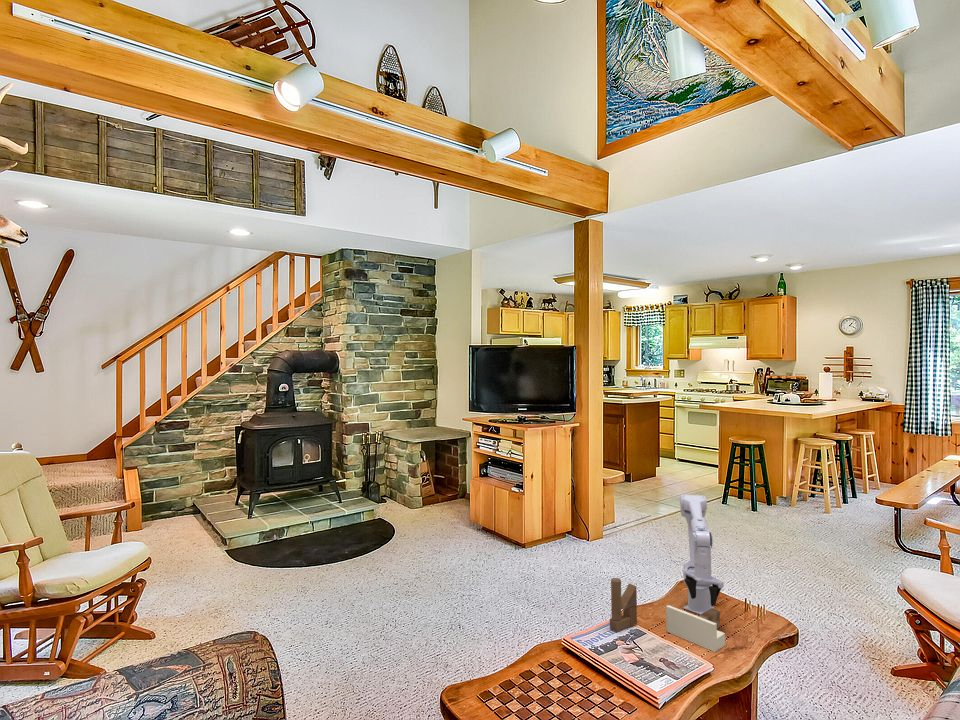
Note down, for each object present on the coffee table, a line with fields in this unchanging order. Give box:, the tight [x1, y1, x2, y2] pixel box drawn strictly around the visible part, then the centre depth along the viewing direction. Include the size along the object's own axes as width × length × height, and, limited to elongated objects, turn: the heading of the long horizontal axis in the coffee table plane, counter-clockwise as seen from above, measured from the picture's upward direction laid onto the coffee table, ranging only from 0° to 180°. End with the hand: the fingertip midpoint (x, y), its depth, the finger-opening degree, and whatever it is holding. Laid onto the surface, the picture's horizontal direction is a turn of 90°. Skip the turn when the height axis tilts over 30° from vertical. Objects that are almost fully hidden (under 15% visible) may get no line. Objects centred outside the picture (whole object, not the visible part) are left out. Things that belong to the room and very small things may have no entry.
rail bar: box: [697, 608, 721, 630], centre depth 189 cm, size 14×3×6 cm, turn 129°
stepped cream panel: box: [665, 604, 726, 653], centre depth 185 cm, size 7×18×9 cm, turn 38°
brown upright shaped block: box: [609, 577, 638, 633], centre depth 194 cm, size 4×11×18 cm, turn 122°
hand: (703, 601), depth 193 cm, fingers open, 7 cm apart
